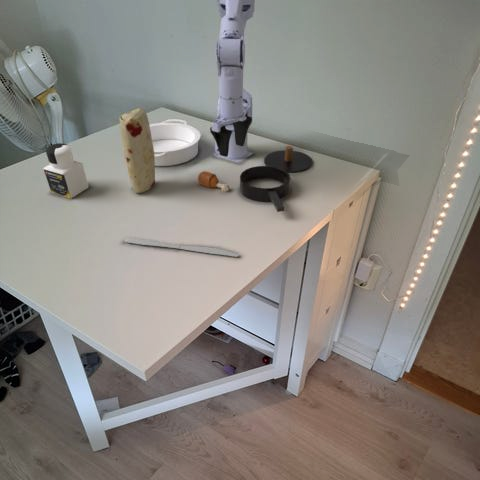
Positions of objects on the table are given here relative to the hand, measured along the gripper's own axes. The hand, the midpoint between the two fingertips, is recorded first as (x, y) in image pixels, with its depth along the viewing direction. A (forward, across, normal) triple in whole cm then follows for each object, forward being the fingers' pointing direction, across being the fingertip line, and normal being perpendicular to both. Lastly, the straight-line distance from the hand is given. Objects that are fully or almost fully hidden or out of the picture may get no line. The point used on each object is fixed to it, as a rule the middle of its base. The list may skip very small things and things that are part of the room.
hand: (232, 150), depth 116 cm
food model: (+8, -17, +17) cm, 26 cm away
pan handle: (+6, -8, -19) cm, 21 cm away
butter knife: (+8, -34, -9) cm, 36 cm away
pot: (+9, +4, +28) cm, 29 cm away
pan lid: (+8, +17, -8) cm, 21 cm away
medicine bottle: (+8, -29, +33) cm, 45 cm away
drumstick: (+8, -7, +2) cm, 11 cm away
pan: (+8, -1, -11) cm, 14 cm away
